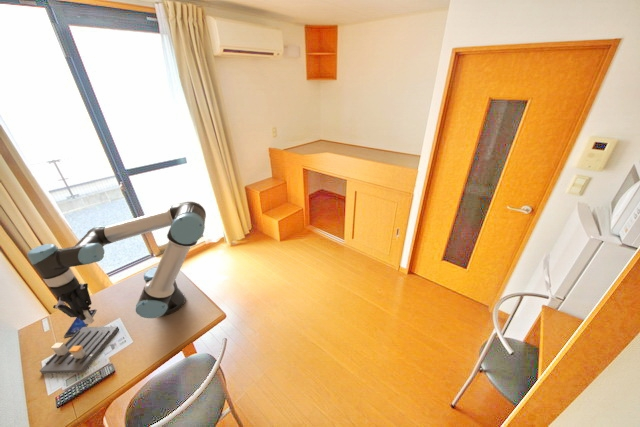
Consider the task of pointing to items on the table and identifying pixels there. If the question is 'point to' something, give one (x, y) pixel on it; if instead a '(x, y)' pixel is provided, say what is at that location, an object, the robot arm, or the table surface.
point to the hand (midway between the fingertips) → (89, 322)
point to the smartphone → (77, 325)
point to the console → (91, 343)
